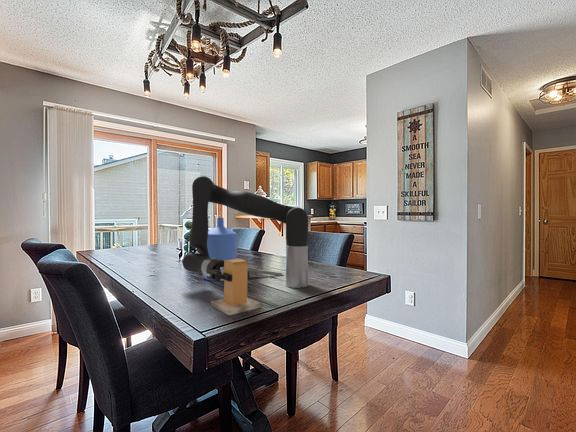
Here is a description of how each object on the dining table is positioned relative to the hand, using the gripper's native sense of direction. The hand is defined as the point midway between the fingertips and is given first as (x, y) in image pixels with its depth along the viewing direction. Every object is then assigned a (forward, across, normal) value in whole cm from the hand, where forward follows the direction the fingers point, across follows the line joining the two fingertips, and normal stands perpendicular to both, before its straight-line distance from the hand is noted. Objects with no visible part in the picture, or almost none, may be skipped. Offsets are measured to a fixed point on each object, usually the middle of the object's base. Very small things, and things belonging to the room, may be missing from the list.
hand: (239, 276), depth 101 cm
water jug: (-43, +16, +11) cm, 48 cm away
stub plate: (-2, 0, +10) cm, 11 cm away
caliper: (-33, +34, +11) cm, 48 cm away
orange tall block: (-2, 0, +9) cm, 9 cm away
